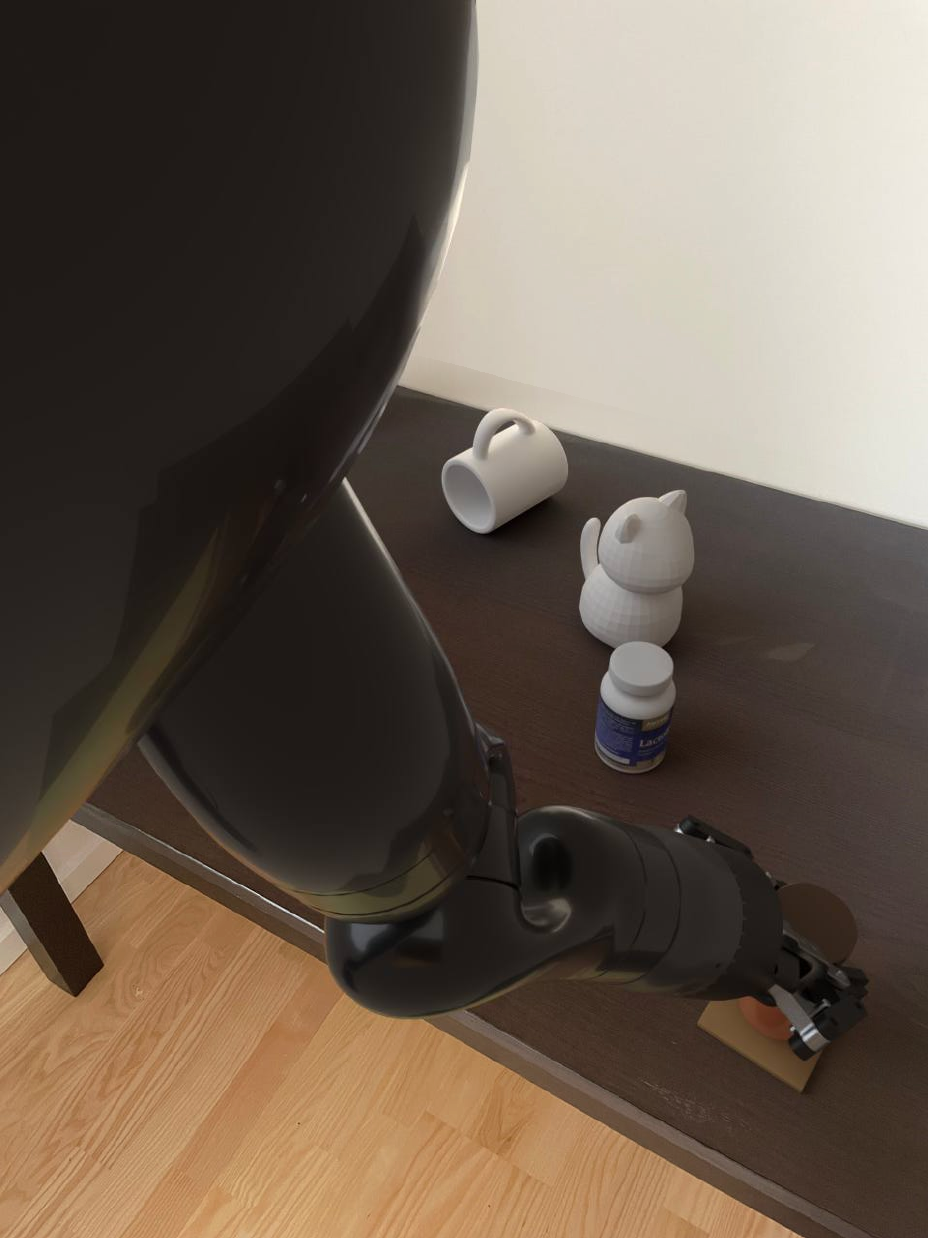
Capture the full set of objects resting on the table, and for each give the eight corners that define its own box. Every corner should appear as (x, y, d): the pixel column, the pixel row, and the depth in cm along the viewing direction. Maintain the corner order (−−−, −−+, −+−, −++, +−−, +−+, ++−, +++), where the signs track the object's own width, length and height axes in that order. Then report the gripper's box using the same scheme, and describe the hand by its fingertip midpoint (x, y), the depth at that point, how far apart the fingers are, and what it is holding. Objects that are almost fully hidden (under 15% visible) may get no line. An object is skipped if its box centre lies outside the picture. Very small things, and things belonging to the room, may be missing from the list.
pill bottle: (646, 787, 76) (660, 702, 69) (581, 757, 78) (588, 672, 71) (677, 738, 79) (693, 652, 72) (614, 711, 81) (623, 625, 74)
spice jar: (798, 1059, 59) (836, 982, 52) (722, 1010, 61) (749, 930, 54) (831, 994, 61) (871, 913, 55) (757, 950, 64) (787, 867, 57)
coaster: (800, 1094, 59) (802, 1091, 58) (696, 1025, 62) (697, 1022, 62) (845, 1004, 63) (847, 1000, 62) (745, 943, 66) (747, 940, 66)
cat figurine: (631, 686, 83) (648, 551, 73) (540, 607, 91) (543, 475, 80) (706, 641, 87) (732, 506, 77) (612, 569, 94) (624, 437, 84)
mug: (567, 504, 102) (572, 404, 94) (496, 548, 97) (495, 446, 89) (512, 472, 107) (513, 374, 99) (442, 512, 102) (436, 412, 94)
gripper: (821, 1000, 40) (960, 1017, 51) (645, 750, 50) (794, 810, 61) (693, 1102, 42) (853, 1096, 54) (549, 844, 52) (710, 885, 63)
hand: (821, 944), depth 57 cm, fingers closed on spice jar, 5 cm apart
